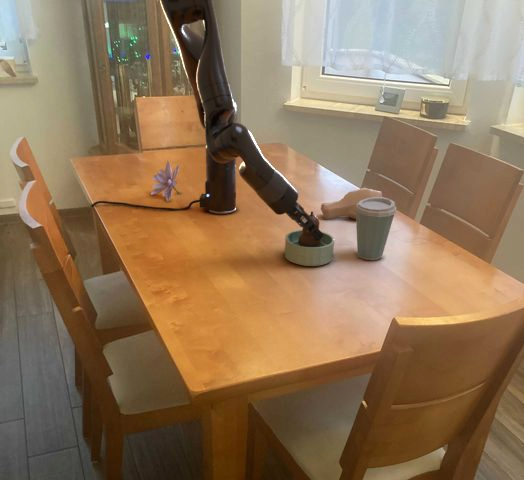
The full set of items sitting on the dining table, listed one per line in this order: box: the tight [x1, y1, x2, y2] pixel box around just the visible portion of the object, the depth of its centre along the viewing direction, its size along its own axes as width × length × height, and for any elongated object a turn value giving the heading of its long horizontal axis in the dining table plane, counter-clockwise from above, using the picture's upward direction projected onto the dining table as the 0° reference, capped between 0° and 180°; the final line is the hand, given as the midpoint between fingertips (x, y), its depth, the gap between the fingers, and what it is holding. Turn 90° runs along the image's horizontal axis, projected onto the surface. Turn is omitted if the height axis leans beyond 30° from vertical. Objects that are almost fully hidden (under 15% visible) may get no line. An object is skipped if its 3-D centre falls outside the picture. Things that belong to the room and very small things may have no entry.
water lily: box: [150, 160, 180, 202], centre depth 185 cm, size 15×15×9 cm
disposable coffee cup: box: [355, 196, 397, 261], centre depth 144 cm, size 11×11×15 cm
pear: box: [298, 211, 321, 247], centre depth 142 cm, size 6×6×11 cm
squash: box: [320, 186, 383, 220], centre depth 172 cm, size 11×20×9 cm, turn 100°
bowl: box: [284, 229, 335, 267], centre depth 145 cm, size 13×13×6 cm
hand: (316, 233), depth 143 cm, fingers closed on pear, 5 cm apart
